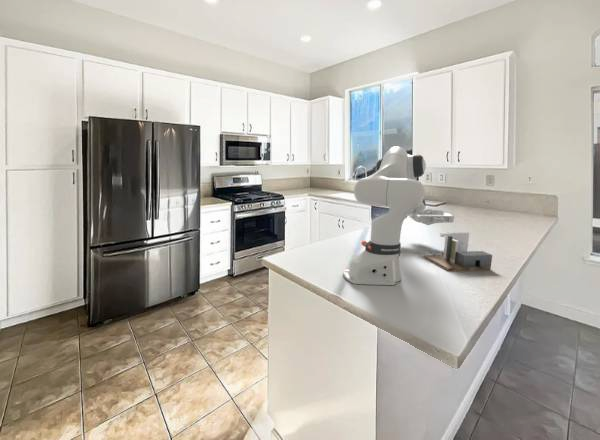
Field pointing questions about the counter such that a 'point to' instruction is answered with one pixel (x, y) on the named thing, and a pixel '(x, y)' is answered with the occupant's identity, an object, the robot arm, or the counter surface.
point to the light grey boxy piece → (459, 239)
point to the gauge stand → (461, 259)
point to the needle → (449, 248)
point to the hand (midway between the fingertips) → (442, 220)
